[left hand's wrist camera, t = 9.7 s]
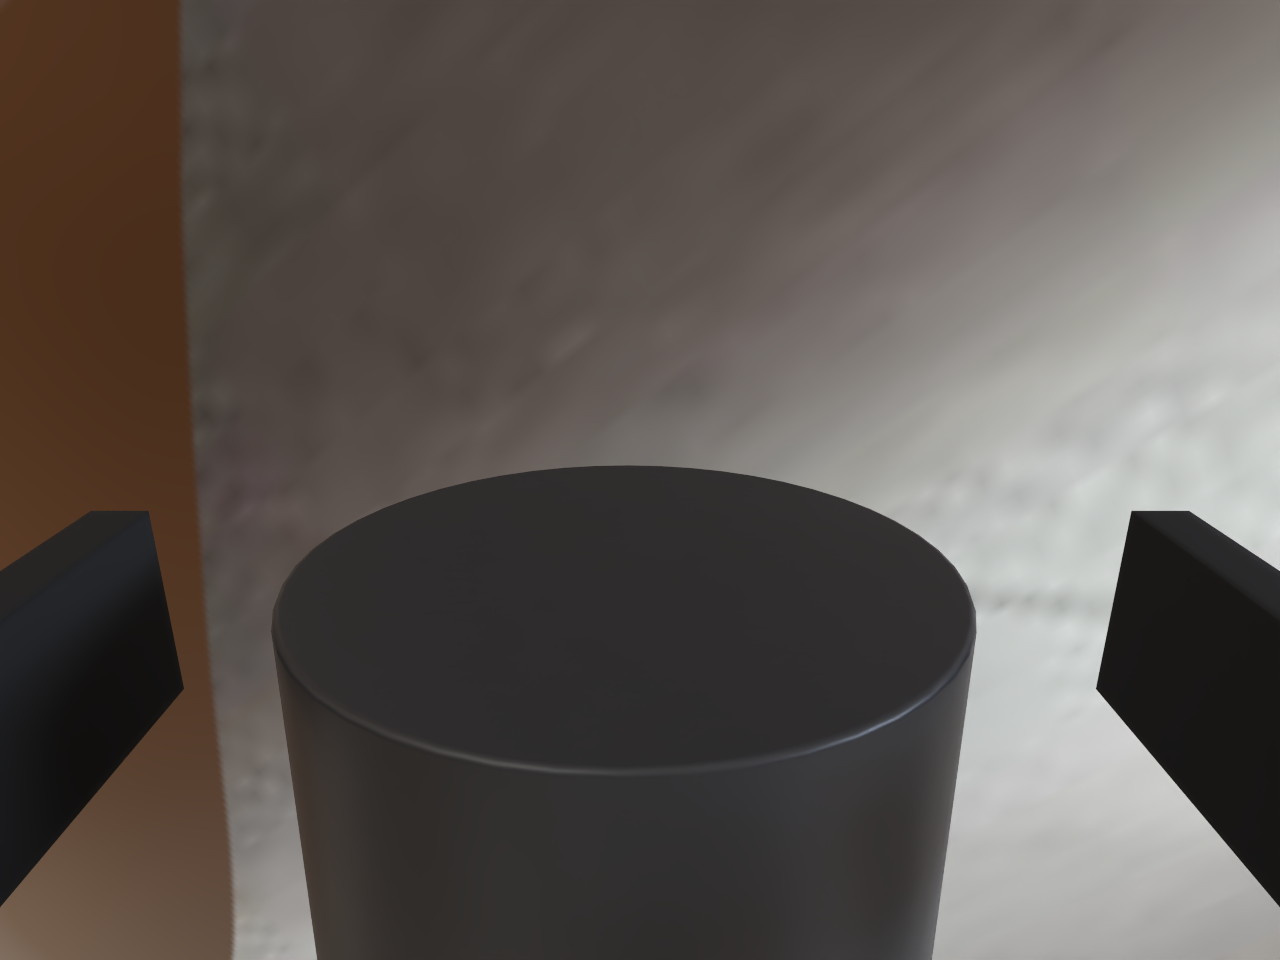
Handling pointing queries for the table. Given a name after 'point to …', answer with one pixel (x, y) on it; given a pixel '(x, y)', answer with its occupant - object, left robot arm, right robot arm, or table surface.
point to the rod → (624, 722)
